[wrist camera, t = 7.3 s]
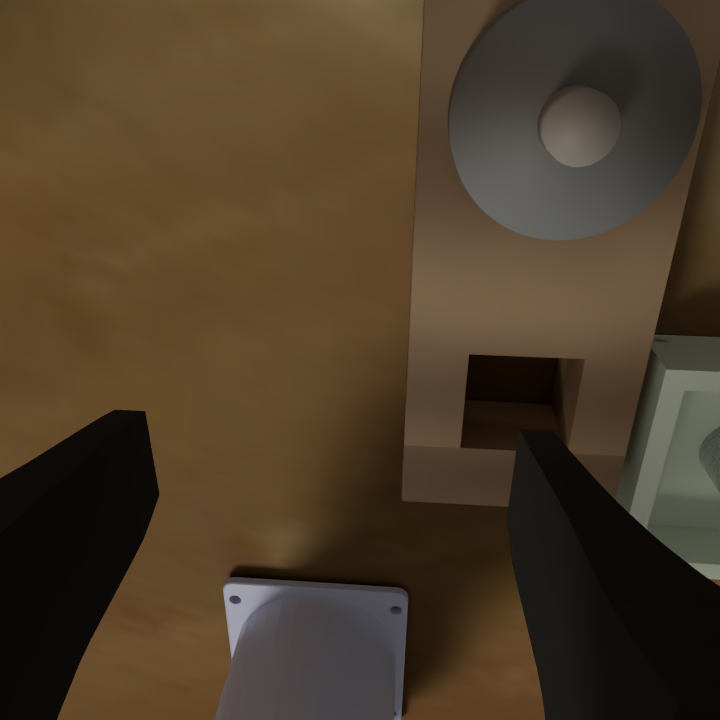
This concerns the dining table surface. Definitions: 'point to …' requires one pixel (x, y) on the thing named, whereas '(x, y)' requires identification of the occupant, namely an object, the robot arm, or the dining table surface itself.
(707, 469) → the lock pin
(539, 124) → the block
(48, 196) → the dining table surface
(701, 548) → the tray
